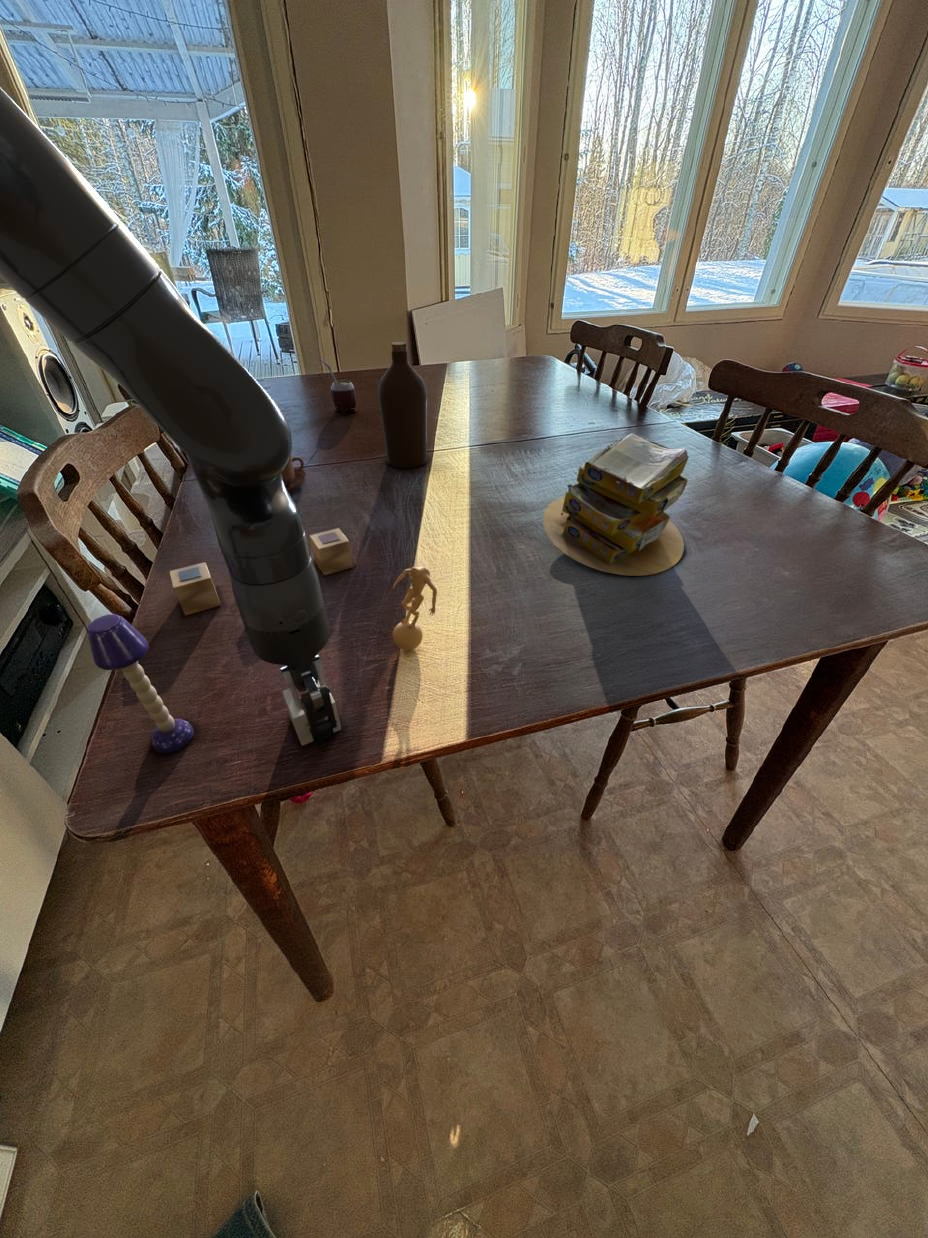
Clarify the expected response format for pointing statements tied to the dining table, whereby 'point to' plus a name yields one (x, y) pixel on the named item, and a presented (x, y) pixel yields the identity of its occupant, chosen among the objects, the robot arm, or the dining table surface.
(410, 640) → the figurine
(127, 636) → the toy lamp
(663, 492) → the stacked food boxes
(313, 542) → the block row
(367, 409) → the dining table surface
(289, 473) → the cup and saucer
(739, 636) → the dining table surface
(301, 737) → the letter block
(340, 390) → the mate gourd
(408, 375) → the olive oil
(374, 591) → the dining table surface
